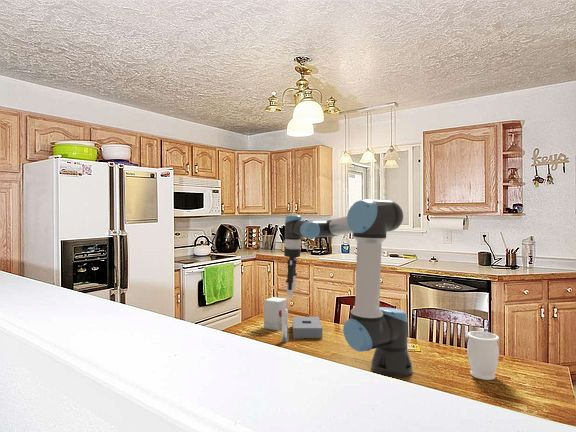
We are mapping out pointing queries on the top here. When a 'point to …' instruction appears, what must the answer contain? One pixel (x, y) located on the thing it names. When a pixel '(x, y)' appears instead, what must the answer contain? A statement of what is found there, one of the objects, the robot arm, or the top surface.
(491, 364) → the jar
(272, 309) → the supplement box
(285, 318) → the steel pin
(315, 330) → the hole block
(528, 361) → the top surface
